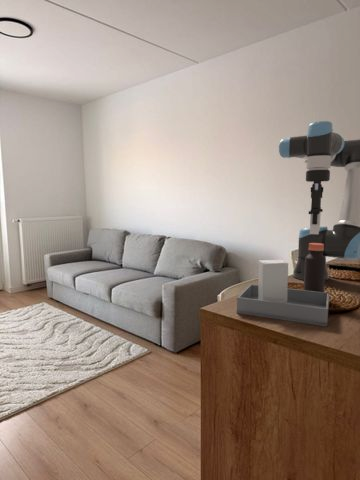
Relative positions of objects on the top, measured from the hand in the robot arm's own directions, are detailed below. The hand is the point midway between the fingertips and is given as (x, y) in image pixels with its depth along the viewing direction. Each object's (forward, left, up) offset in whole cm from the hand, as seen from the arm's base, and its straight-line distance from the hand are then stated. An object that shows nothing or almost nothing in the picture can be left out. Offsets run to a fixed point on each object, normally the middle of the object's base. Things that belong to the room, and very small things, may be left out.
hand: (315, 232), depth 116 cm
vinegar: (-1, +1, -24) cm, 24 cm away
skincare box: (+16, -11, -23) cm, 31 cm away
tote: (+16, -7, -24) cm, 30 cm away
